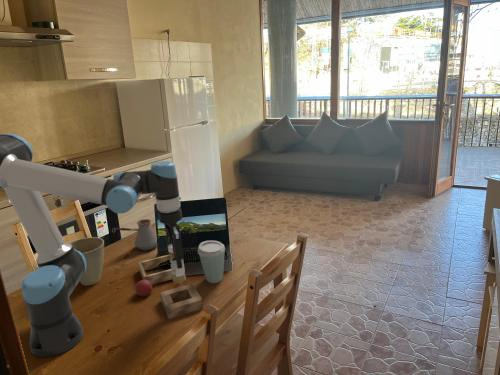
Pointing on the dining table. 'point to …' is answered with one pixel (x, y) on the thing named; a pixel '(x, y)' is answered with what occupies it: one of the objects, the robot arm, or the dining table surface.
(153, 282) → the open square frame
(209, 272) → the disposable coffee cup
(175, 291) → the collar block
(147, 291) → the fruit
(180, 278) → the sprinkles bottle
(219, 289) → the dining table surface
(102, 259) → the plant pot
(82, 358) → the dining table surface
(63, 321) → the robot arm
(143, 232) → the coffee pot
